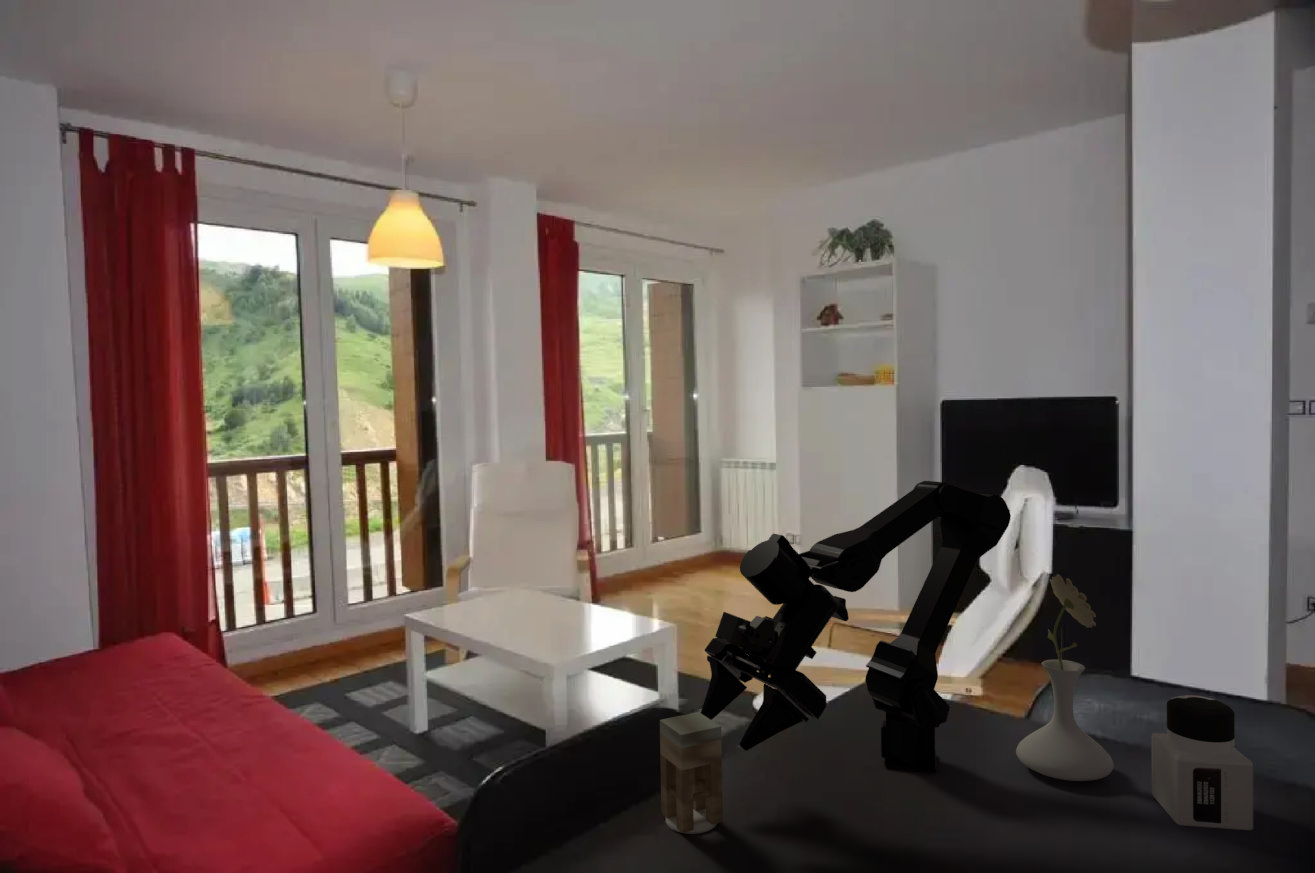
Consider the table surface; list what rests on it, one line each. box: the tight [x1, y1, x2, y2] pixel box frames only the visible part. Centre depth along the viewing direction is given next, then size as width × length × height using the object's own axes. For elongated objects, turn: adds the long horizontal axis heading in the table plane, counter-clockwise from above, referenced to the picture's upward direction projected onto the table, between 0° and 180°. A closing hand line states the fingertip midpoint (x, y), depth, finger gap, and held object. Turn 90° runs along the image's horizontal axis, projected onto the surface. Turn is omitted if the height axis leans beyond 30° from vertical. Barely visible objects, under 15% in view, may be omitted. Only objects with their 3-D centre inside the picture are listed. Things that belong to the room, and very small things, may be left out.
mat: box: [665, 808, 718, 835], centre depth 96 cm, size 6×6×1 cm
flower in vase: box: [1015, 573, 1115, 782], centre depth 108 cm, size 13×11×25 cm
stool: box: [659, 711, 724, 834], centre depth 96 cm, size 5×5×11 cm
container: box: [1151, 694, 1254, 831], centre depth 96 cm, size 8×8×13 cm
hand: (721, 734), depth 97 cm, fingers open, 9 cm apart
